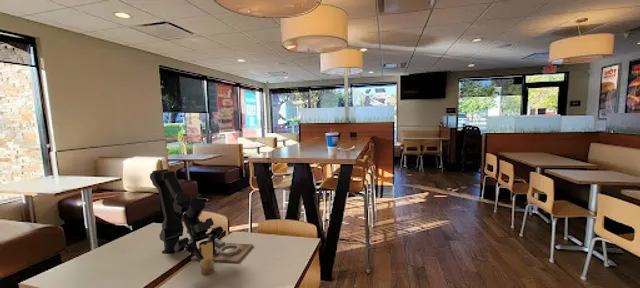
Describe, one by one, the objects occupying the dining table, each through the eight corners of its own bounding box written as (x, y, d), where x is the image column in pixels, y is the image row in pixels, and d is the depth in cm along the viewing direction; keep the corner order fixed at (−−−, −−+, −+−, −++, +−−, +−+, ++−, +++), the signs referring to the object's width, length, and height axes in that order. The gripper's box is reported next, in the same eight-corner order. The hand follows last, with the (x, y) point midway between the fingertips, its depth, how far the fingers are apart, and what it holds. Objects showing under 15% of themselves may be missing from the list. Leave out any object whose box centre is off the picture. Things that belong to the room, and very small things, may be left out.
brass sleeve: (198, 274, 111) (196, 245, 110) (206, 267, 116) (204, 239, 115) (208, 276, 109) (206, 246, 108) (216, 269, 114) (215, 241, 113)
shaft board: (191, 260, 123) (190, 252, 122) (211, 244, 138) (210, 237, 138) (238, 263, 119) (237, 255, 119) (253, 246, 135) (252, 239, 134)
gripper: (175, 220, 106) (191, 256, 100) (220, 207, 120) (236, 238, 114) (167, 235, 112) (182, 270, 106) (211, 221, 126) (226, 252, 120)
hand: (208, 257), depth 111 cm, fingers closed on brass sleeve, 5 cm apart
